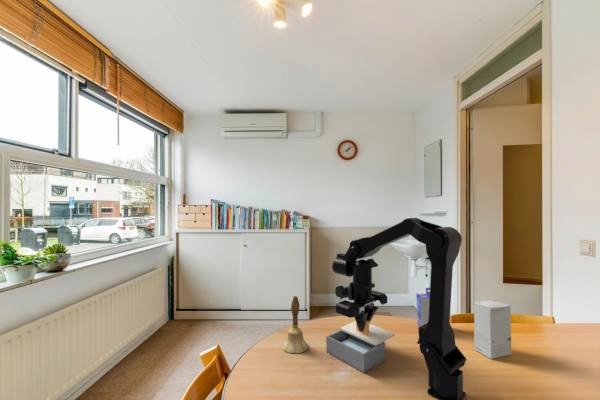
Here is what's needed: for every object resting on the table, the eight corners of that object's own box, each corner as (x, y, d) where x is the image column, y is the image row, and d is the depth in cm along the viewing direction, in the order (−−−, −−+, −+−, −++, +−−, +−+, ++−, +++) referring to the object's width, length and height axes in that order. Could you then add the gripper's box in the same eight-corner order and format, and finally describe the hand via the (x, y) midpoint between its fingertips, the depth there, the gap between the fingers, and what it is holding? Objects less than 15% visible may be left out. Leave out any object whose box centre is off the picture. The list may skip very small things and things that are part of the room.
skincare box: (491, 359, 83) (490, 308, 83) (473, 349, 88) (472, 301, 88) (512, 355, 85) (512, 305, 85) (493, 345, 91) (493, 298, 91)
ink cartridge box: (443, 326, 105) (443, 286, 105) (450, 333, 99) (450, 291, 99) (416, 325, 106) (415, 286, 106) (421, 332, 100) (421, 291, 100)
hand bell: (288, 339, 96) (287, 291, 96) (311, 343, 93) (311, 294, 93) (277, 351, 88) (277, 299, 89) (303, 356, 86) (302, 302, 86)
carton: (385, 359, 83) (385, 342, 83) (364, 373, 77) (363, 354, 77) (347, 341, 94) (347, 326, 94) (326, 352, 87) (326, 336, 87)
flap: (394, 335, 87) (394, 320, 87) (376, 346, 81) (375, 329, 81) (358, 321, 97) (358, 307, 97) (339, 329, 91) (339, 315, 91)
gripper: (359, 270, 100) (360, 315, 100) (322, 280, 88) (322, 331, 88) (388, 276, 91) (388, 325, 91) (350, 288, 79) (351, 344, 79)
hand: (362, 330), depth 88 cm, fingers closed on flap
